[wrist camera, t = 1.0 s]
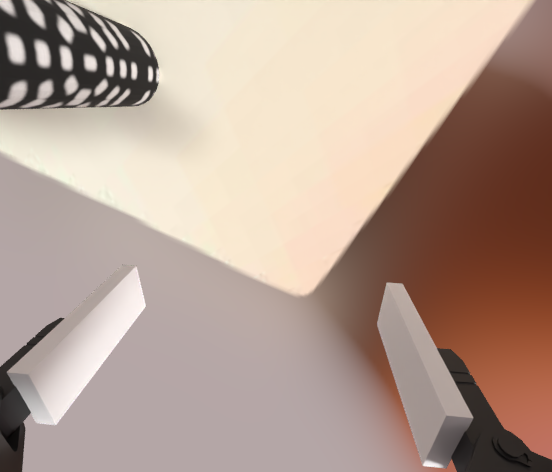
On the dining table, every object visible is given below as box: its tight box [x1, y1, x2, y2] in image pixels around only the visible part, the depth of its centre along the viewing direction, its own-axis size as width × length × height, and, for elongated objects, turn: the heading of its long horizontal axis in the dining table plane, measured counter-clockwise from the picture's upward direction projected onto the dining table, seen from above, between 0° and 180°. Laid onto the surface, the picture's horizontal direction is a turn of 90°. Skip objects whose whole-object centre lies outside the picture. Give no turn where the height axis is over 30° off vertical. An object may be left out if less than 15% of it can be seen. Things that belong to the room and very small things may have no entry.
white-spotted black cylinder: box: [0, 0, 159, 109], centre depth 25 cm, size 8×8×20 cm
